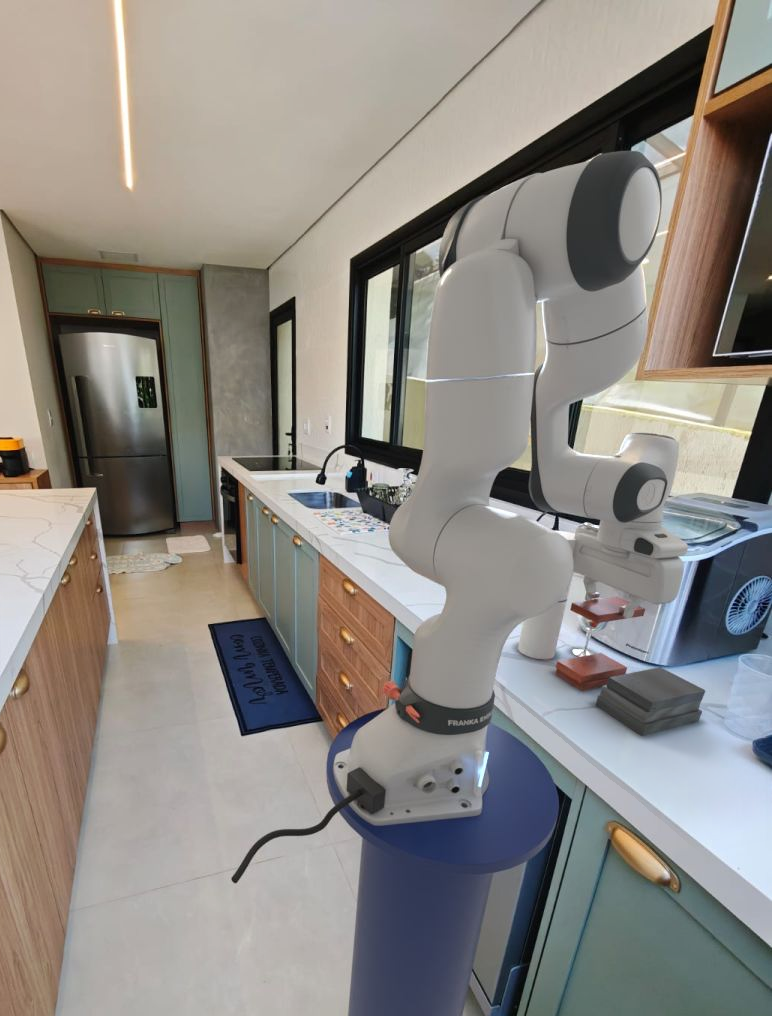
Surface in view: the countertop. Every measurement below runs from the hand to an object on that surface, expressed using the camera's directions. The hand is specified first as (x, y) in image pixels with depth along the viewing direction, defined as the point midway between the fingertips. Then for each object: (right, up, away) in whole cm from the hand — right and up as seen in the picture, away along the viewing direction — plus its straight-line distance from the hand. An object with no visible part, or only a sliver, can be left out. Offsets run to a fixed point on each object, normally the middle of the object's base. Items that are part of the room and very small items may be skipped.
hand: (607, 608), depth 90 cm
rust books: (0, -13, +5) cm, 14 cm away
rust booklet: (0, -1, 0) cm, 1 cm away
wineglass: (+3, -10, +15) cm, 18 cm away
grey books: (+4, -18, -5) cm, 19 cm away
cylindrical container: (-6, -9, +15) cm, 19 cm away
